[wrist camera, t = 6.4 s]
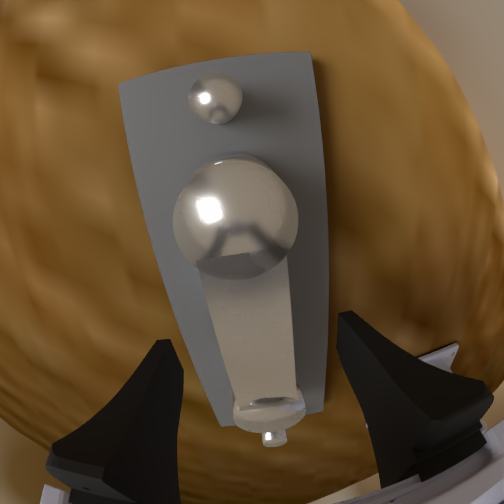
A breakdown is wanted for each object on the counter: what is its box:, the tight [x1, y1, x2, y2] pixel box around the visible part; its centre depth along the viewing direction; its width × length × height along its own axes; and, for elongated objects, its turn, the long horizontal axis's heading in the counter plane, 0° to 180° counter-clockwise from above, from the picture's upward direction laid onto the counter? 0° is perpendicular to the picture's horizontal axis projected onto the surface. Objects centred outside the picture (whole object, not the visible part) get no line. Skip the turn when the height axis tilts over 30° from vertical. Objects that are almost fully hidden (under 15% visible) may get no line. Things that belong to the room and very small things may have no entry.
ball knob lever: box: [173, 152, 306, 433], centre depth 13 cm, size 15×4×3 cm, turn 8°
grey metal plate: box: [118, 52, 329, 447], centre depth 13 cm, size 23×8×4 cm, turn 8°
